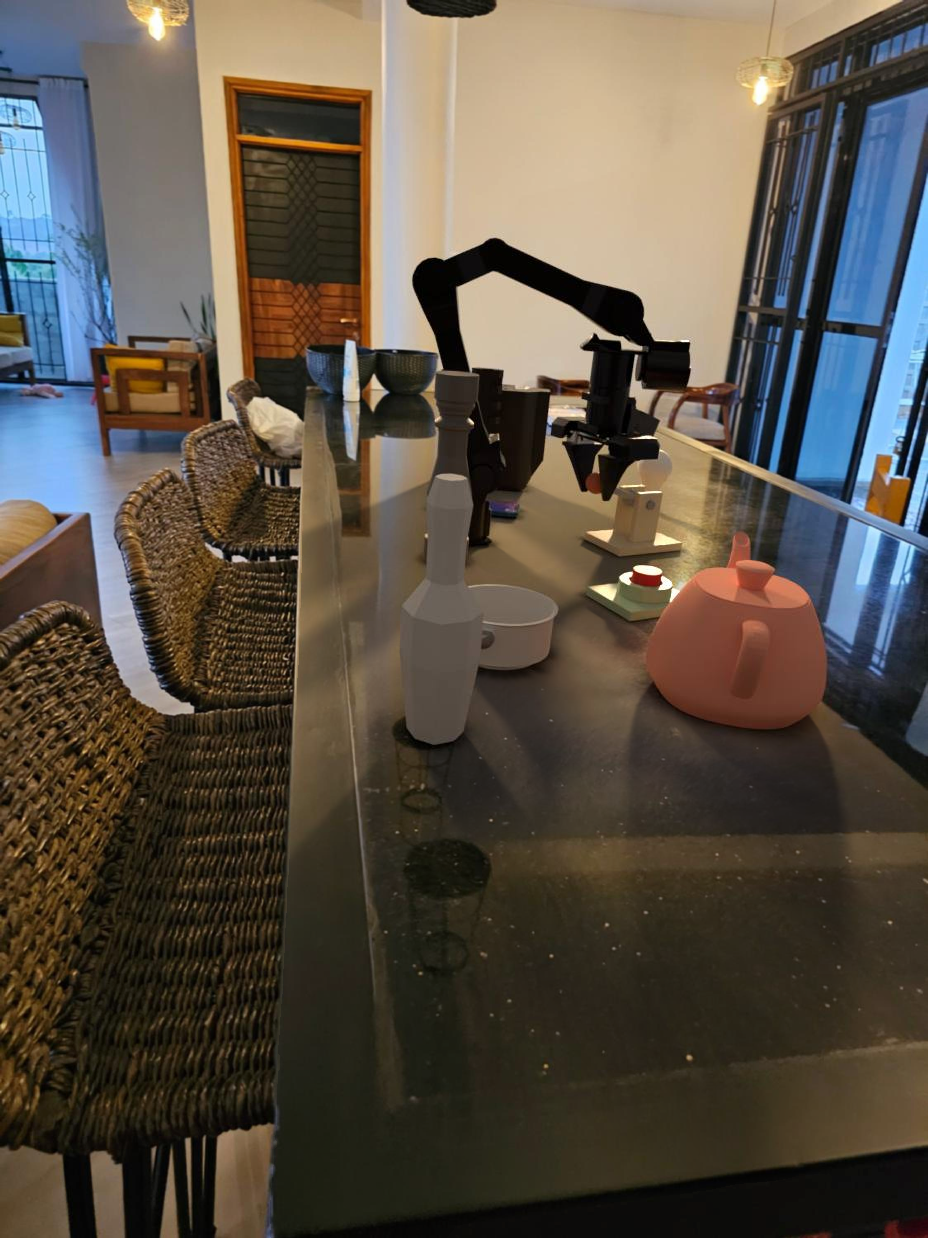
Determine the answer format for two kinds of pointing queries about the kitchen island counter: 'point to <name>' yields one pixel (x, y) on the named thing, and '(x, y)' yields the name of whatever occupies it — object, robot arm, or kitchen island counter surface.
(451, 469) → the candle holder
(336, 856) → the kitchen island counter surface
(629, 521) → the switch bracket
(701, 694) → the teapot
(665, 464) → the lightbulb
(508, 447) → the brown vase set
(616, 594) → the button housing
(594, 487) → the switch lever
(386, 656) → the kitchen island counter surface
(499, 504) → the smartphone
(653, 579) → the button
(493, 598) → the saucepan
